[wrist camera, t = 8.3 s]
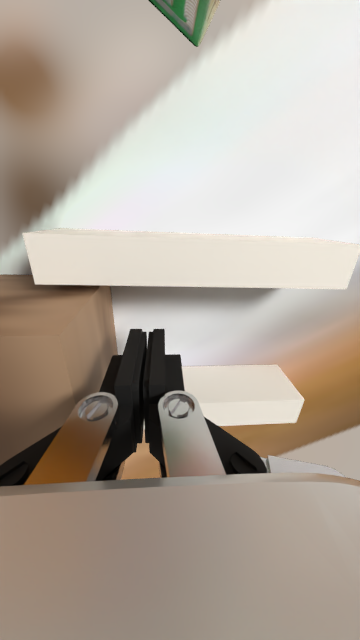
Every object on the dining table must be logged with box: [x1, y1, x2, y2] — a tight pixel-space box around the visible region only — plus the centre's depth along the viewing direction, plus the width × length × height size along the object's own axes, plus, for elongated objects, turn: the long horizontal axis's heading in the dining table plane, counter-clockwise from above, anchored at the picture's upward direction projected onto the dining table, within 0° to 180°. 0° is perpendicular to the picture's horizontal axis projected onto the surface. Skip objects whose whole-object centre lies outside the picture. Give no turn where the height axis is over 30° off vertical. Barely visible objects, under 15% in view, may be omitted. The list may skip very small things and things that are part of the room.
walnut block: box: [0, 275, 118, 465], centre depth 11 cm, size 7×6×7 cm
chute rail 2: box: [143, 365, 305, 429], centre depth 15 cm, size 14×2×4 cm, turn 88°
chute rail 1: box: [22, 228, 360, 289], centre depth 11 cm, size 14×2×4 cm, turn 88°
